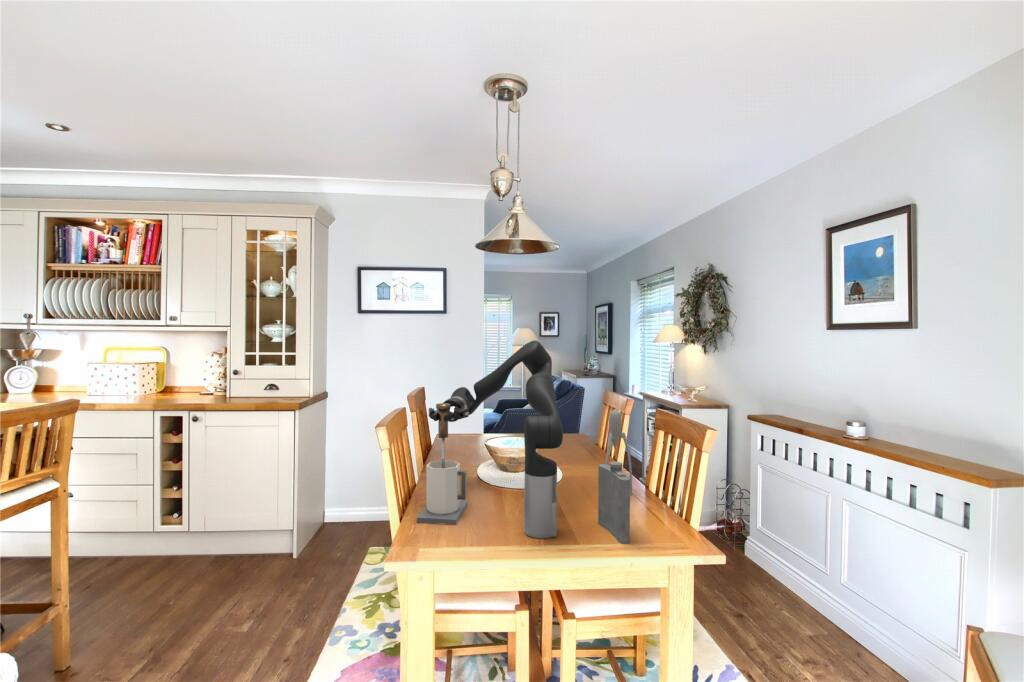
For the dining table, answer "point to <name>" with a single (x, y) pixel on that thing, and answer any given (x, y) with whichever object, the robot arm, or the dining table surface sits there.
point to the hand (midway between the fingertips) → (440, 417)
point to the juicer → (614, 437)
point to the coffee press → (444, 493)
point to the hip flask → (614, 501)
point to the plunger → (442, 426)
